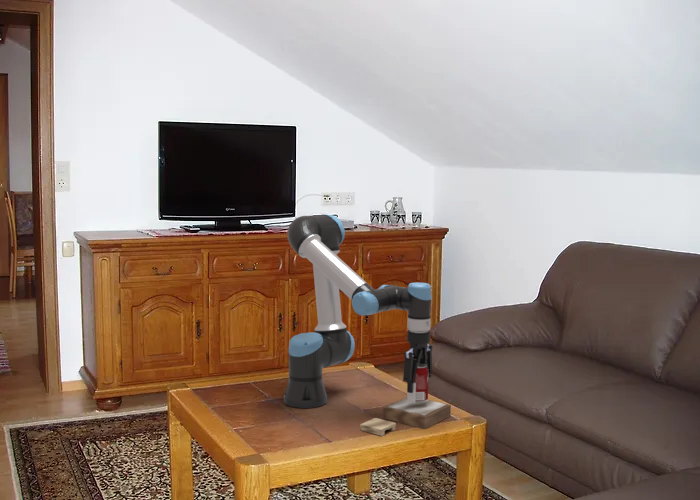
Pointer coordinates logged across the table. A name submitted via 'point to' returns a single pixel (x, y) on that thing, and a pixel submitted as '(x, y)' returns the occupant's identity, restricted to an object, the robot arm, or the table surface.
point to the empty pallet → (377, 426)
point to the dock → (417, 412)
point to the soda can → (421, 383)
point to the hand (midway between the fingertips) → (417, 398)
